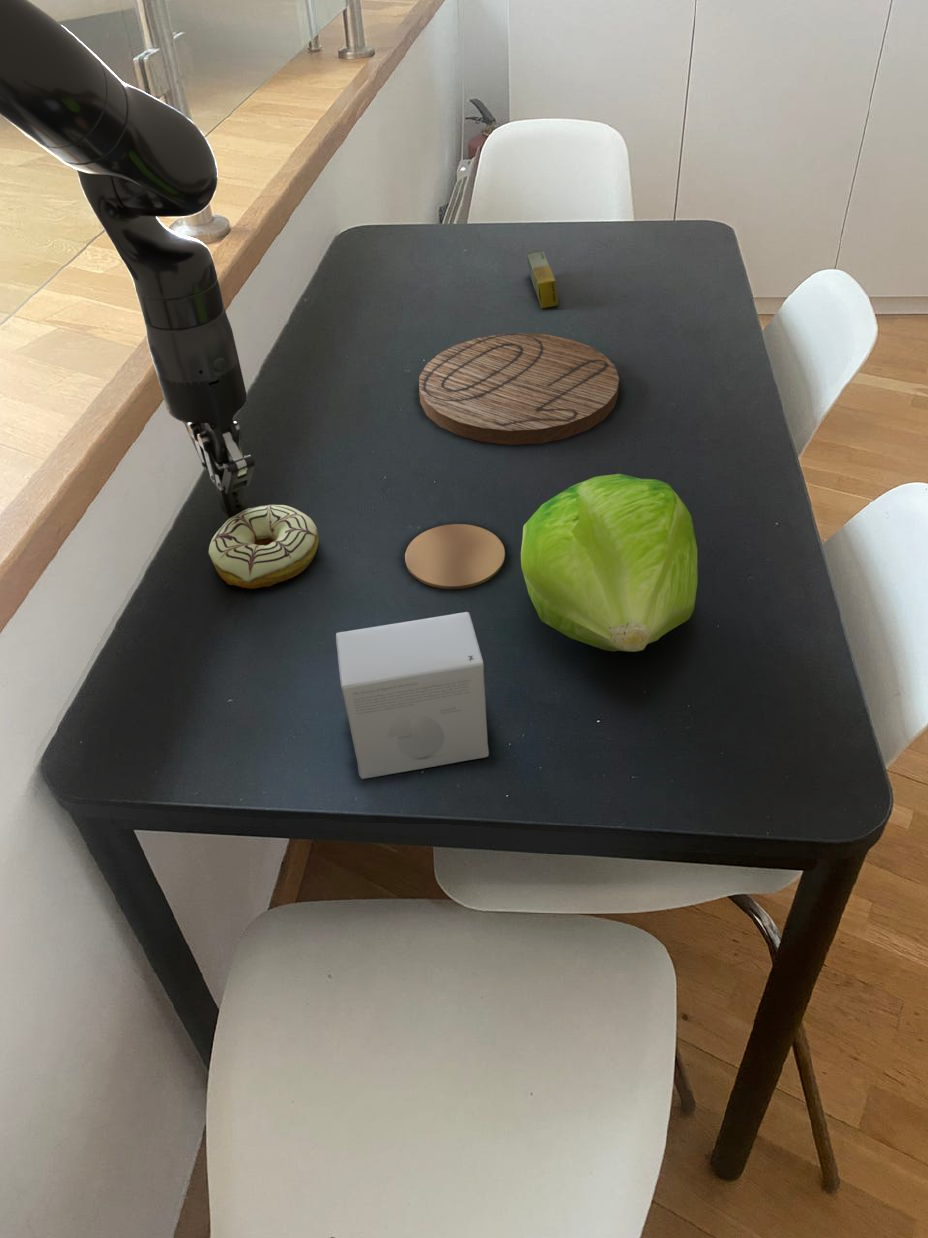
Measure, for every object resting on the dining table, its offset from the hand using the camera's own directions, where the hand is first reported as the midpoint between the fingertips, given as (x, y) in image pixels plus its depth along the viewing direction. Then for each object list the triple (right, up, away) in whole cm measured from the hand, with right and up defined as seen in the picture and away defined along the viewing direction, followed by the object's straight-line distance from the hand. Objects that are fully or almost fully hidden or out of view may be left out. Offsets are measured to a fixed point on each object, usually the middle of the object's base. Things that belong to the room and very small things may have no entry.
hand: (235, 512), depth 96 cm
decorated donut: (+4, -5, -3) cm, 7 cm away
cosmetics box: (+20, -21, -21) cm, 36 cm away
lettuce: (+37, -12, -12) cm, 40 cm away
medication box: (+36, +38, +42) cm, 67 cm away
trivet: (+31, +17, +20) cm, 41 cm away
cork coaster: (+23, -5, -4) cm, 24 cm away
